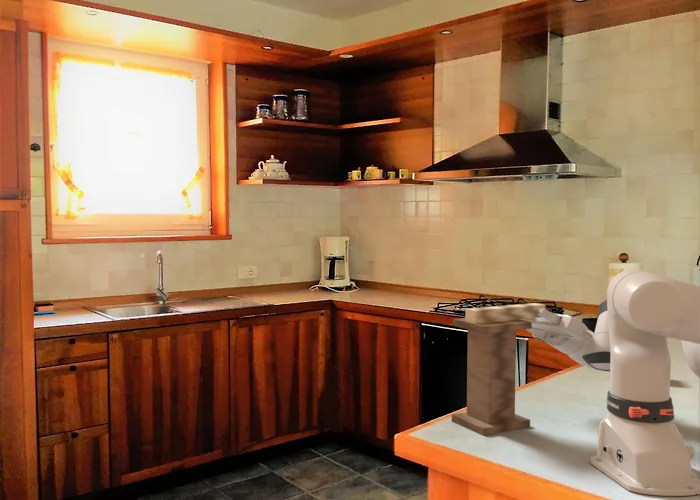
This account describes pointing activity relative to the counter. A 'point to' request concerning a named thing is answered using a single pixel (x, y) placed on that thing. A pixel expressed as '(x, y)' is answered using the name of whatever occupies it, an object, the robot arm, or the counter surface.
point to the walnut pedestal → (491, 377)
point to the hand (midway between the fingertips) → (528, 309)
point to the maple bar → (503, 313)
